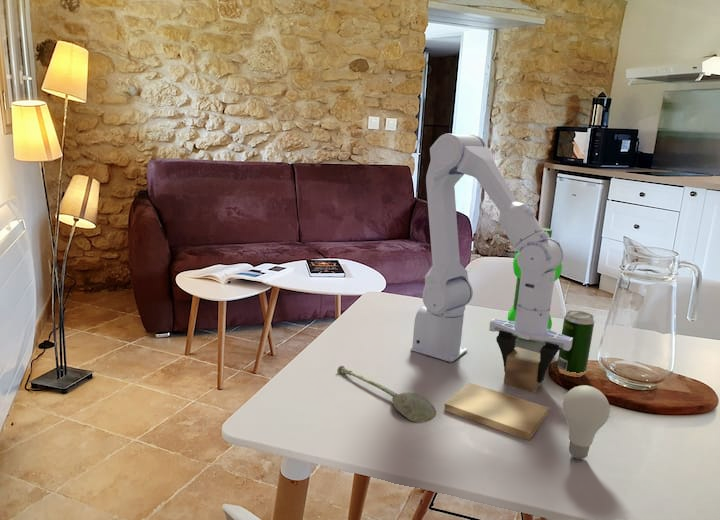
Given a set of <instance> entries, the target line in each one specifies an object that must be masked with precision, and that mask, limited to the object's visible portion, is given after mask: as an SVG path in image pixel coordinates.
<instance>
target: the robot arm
mask: <svg viewBox="0 0 720 520" xmlns="http://www.w3.org/2000/svg"><path fill="white" fill-rule="evenodd" d="M429 156H430V162H429V165H428V168H427V172H426V175H425V176H426V177H425V185H426V187H425V188H426V196H427V197H426V198H427V199H426V200H427V209H428V210H427V211H428V223H429V224H428V225H429V235H430V247H431V248H430V249H431V261H432V266H431V267H430V269H429V270H428V272H427V273H426V274H425V276H424V286H423V287H424V288H423V291H422V302H423V305H422V306H421V307H419V309H418V310H417V311H416V314H415V317H414V323H413V324H414V325H413V334H412V335H413V336H412V346H411V347H410V351H413V352H416V353H419V354H423V355H426V356H429V357H432V358H435V359H438V360H443V361H446V362H449V363H453V362H454V361H456V360H457V359H458V358H459V357H461V356H462V355H463V354H465V353H467V351H468V348H466V347H462V346H461V343H462V335H463V325H464V317H465V310H466V307H467V305H468V304H469V303H470V302H471V301H472V298H473V295H474V290H473V286H472V284H471V281H470V280H469V277H468V271H467V269H466V268H465V267H464V266H463V265H462V263H461V259H460V244H459V232H458V218H457V202H456V190H455V186H456V184H457V183H458V182H459V181H460V180H461V179H462V177H464V175H467V176H470V177H473V178H475V179H476V180H477V182H478V183H479V184H480V186H481V188H483V190H484V192H485V193H486V194H487V196H488V197H489V198H490V200H491V201H492V202H493V204H494V205H495V207H496V208H497V209H498V210H499V216H498V223H499V225H500V226H501V227H502V229H503V231H504V232H505V234H506V236H507V237H508V239H509V241H510V242H511V243H512V245H513V246H514V248H515V250H516V251H517V253H518V252H519V255H517V263H518V266H519V267H520V269H521V279H520V286H519V294H518V302H517V309H516V316H515V322H513V321H508V320H504V319H498V318H493V319H491V320H490V321H489V329H488V331H490V332H498V335H497V336H496V343H497V345H498V348H499V349H500V353H501V357H502V362H503V369H504V373H505V368H506V361H507V356H508V355H509V354H510V353H511V352H512V351H513V350H514V349H515V348H516V347H515V346H516V342H517V339H518V338H520V339H521V338H523V340H525V339H527V340H526V341H534V342H538V343H542V344H544V345H543V346H541V347H540V349H539V351H540V352H539V353H540V367H539V372H538V378H537V382H539V383H541V384H542V383H543V382H544V380H545V378H546V374H547V371H548V369H549V368H550V365H551V363H552V361H553V359H554V358H555V356H556V355H557V354H558V353H559V349H560V348H563V350H567V351H569V350H570V349H571V347H572V341H573V338H572V337H568V336H565V335H562V333H559V332H557V331H554V330H552V329H550V330H549V329H547V327H548V321H549V314H550V315H551V306H552V299H553V292H554V286H555V281H554V278H555V272H556V270H553V269H555V268H557V267H558V266H559V265H560V264H562V262H563V260H564V251H563V249H562V247H561V246H562V245H561V244H560V242H559V241H558V240H556V239H555V238H552V237H551V238H549V234H548V233H547V232H544V230H543V229H542V228H543V227H542V226H541V224H540V222H539V221H538V220H537V218H536V217H535V214H536V210H535V209H534V208H533V207H532V206H531V207H529V205H528V204H527V203H524V202H519V201H517V200H516V198H515V196H514V194H513V192H512V190H511V189H510V187H509V185H508V184H507V181H506V180H505V178H504V176H503V174H502V173H501V170H500V169H499V168H498V165H497V164H496V163H495V161H494V158H493V157H494V156H493V153H492V150H491V149H490V148H489V147H488V146H487V145H486V142H485V141H484V139H483V138H481V136H479V135H476V134H469V135H467V134H465V135H464V134H453V133H444V134H442V135H440V136H439V137H438V138H437V139H436V140H435V141H434V143H433V144H432V145H431V146H430V148H429ZM551 270H553V271H551ZM548 271H550V272H548ZM517 336H518V338H517Z"/></svg>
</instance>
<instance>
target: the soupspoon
mask: <svg viewBox="0 0 720 520" xmlns="http://www.w3.org/2000/svg"><path fill="white" fill-rule="evenodd" d="M337 374H342V375H349V376H352V377H354V378H357V379H359V380H361V381H363V382H365V383H367V384H368V385H371V386H373V387H375V388H377V389H379V390H381V391H383V392H384V393H386V394H387V395H389V396H391V397H392V399H391V400H392V401H391V402H392V404H393V406H394V407H395V409H396V410H397V411H398V412H399V413H401V415H402V416H404V417H405V418H407V419H408V421H412V422H414V423H416V424H421V423H422V424H423V423H427V422H430V421H432V420H433V419H434V418H436V416H437V411H436V409H435V406H434V405H433V404H432V402H430V401H429V400H428V399H427V398H425V396H422V395H420V394H418V393H414V392H402V393H399V394H398V393H396V392H395V391H393V390H391V389H390V388H388V387H386V386H385V385H382V384H379V383H378V382H375V381H373V380H371V379H369V378H366V377H364V376H362V375H360V374H358V373H355V372H353V370H349V369H347V368H345V366H344V365H340V366H338V367H337Z"/></svg>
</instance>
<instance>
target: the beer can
mask: <svg viewBox="0 0 720 520" xmlns="http://www.w3.org/2000/svg"><path fill="white" fill-rule="evenodd" d="M594 318H595V316H594V314H592V313H589V312H587V311H582V310H575V309H574V310H573V309H572V310H567V311H566V313H565V315H564V317H563V324H562V330H561V334H562V335H565V336H568V337H572V338H573V341H572V347H571V349H570V350H569V351H567V350H563V348H560V349H559V351H558V355H557V364H556V367H557V366H558V367H559V368H560V369H562V370H565V371H569V372H576V373H580V372H584V371H586V372H587V369H588V362H589V356H590V352H591V351H590V350H591V345H592V344H591V343H592V339H593V338H592V337H593V333H594V327H595V326H594V325H595V320H594Z"/></svg>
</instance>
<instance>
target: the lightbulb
mask: <svg viewBox="0 0 720 520" xmlns="http://www.w3.org/2000/svg"><path fill="white" fill-rule="evenodd" d="M610 408H611V407H610V403H609V401H608V398H607V397H606V395H605V394H604V393H603V392H602V391H600V390H599V389H598V388H595V387H594V386H591V385H584V384H583V385H578V386H574V387H573V388H570V390H568V391H567V392H566V394H565V395H564V397H563V400H562V410H563V414H564V417H565V419H566V422H567V425H568V439H569V444H568V452H569V454H570V455H571V456H572V457H573V458H575V459H577V460H581V459H586V458H587V457H588V454H589V451H590V447H591V446H592V444H593V442H594V438H595V435H596V434H597V433H598V431H599V430H600V429H601V428H602V427H603V426H604V425H605V424H606V423H607V421H608V419H609V417H610V413H611V410H610Z"/></svg>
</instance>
